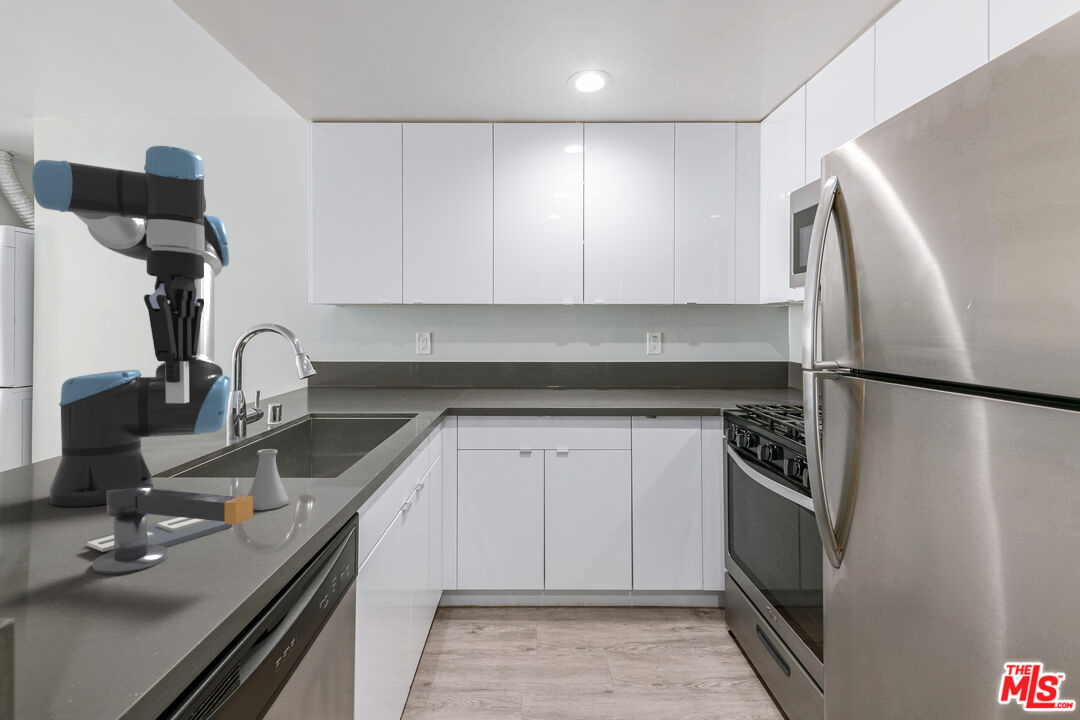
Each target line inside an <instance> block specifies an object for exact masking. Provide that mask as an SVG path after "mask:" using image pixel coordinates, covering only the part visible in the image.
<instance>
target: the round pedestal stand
mask: <svg viewBox="0 0 1080 720" xmlns="http://www.w3.org/2000/svg"><path fill="white" fill-rule="evenodd" d="M147 524H148V514H143V513H141V514H137V515H131V516H122V517H113V533H114V551H111V552H109V553H108V552H106V553H104V554H102V555H100V556H98V557H97V558H95V559H94V560H93V562H92V571H93V572H94V573H95V574H98V575H105V576H106V575H108V576H109V575H111V576H113V575H123V574H129V573H130V574H131V573H134V572H139V571H143V570H145V569H149V568H151V567H154V566H156V565H159V564H160V563H162V562H164V561H165V560H166V559H167V558H168V549H167V548H168V547H164V546H160V545H151V546H150V547H148V546H149V545H148V538H147Z"/></svg>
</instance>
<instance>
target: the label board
mask: <svg viewBox="0 0 1080 720" xmlns="http://www.w3.org/2000/svg"><path fill="white" fill-rule="evenodd" d="M232 527H233V525H231V524H225V522H223V521H213V520H203V519H193V518H183V517H173V516H172V517H170V518H167V519H166V518H165V519H162V520H158V521H156V522H155V521H154V522H151V523H147V538H148V545H149V546H148V547H150V546H151V545H160V546H164V547H166V548H169V547H171V546H174V545H178V544H180V543H184V542H188V541H191V540H194V539H198V538H200V537H204V536H207V535H210V534H214V533H216V532H221V531H223V530H227V529H229V528H232ZM86 546H87V547H89V548H92V549H95V550H97V551H99V552H102V553H103V552H104V553H105V552H106V553H109V552H111V551H114V532H113V533H110V534H105V535H101V536H98V537H94V538H90V539H89V540H88V541H87V542H86Z"/></svg>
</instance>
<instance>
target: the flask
mask: <svg viewBox="0 0 1080 720" xmlns="http://www.w3.org/2000/svg"><path fill="white" fill-rule="evenodd" d="M256 454H257V455H258V464H257V465H258V466H257V469H256V470H257V471H256V473H255V476H254V479H253V481H252V484H251V487H250V490H249V492H248V494H247V496H253V511H255V510H256V511H266V510H273V509H278V508H281V507H284V506H286V505H289V504H291V501H290V499H289V497H288V494H287V492H286V489H285V487H284V485H283V481H282V480H281V477H280V474H279V472H278V466H277V463H276V462H277V461H276V458H277V457H276V456H277V454H278V450H277V449H275V448H267V449H264V448H263V449H260V450H256Z"/></svg>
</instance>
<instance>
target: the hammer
mask: <svg viewBox="0 0 1080 720" xmlns="http://www.w3.org/2000/svg"><path fill="white" fill-rule="evenodd" d="M141 513H143V514H147V515H154V516H166V517H172V518H173V517H183V518H193V519H203V520H213V521H223V522H225V524H231V525H232V526H236V525H237V526H238V524H241V523H244V522H246V521H249V520H250V519H253V518H254V510H253V496H248V495H244V494H242V495H239V496H233V495H232V496H231V495H223V494H222V495H221V494H210V493H198V492H189V491H188V492H187V491H176V490H165V489H154V485H153V483H152V484H145V483H140V484H128V485H122V486H117V487H114V488H111V489H109V490H107V504H106V516H109V517H113V518H114V517H122V516H131V515H137V514H141Z"/></svg>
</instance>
